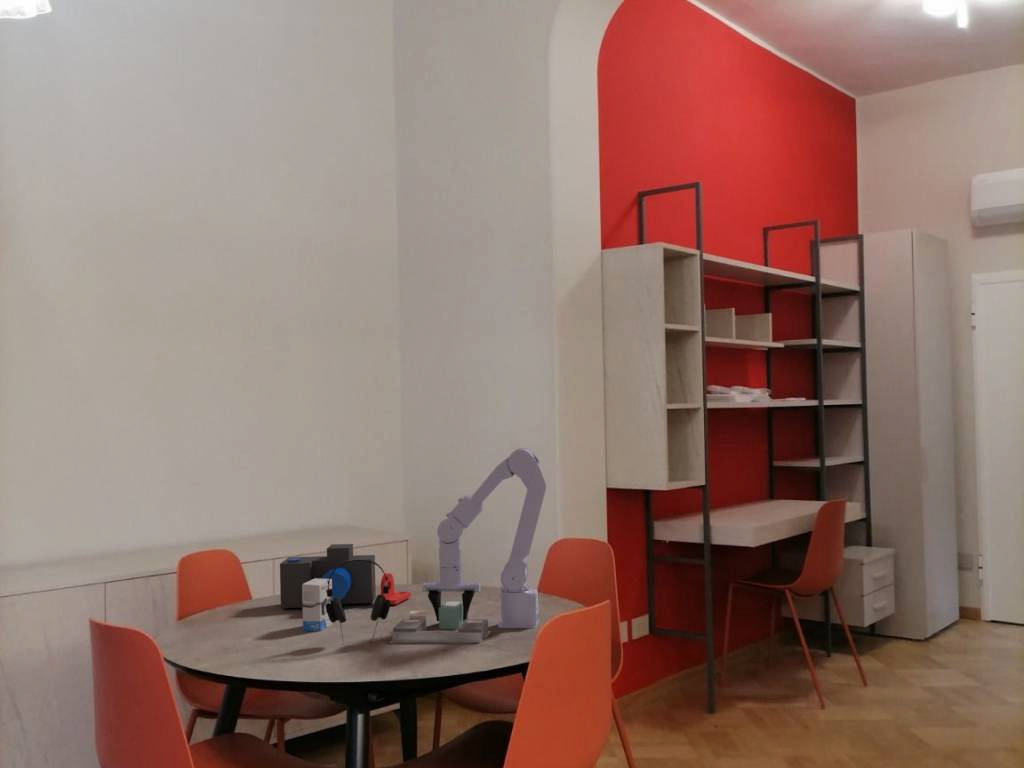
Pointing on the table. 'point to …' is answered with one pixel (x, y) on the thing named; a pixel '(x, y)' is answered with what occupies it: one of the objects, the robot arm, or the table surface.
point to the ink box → (315, 604)
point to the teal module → (451, 615)
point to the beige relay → (419, 615)
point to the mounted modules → (466, 626)
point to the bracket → (391, 595)
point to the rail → (436, 637)
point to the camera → (347, 580)
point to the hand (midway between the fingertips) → (452, 620)
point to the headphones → (379, 607)
